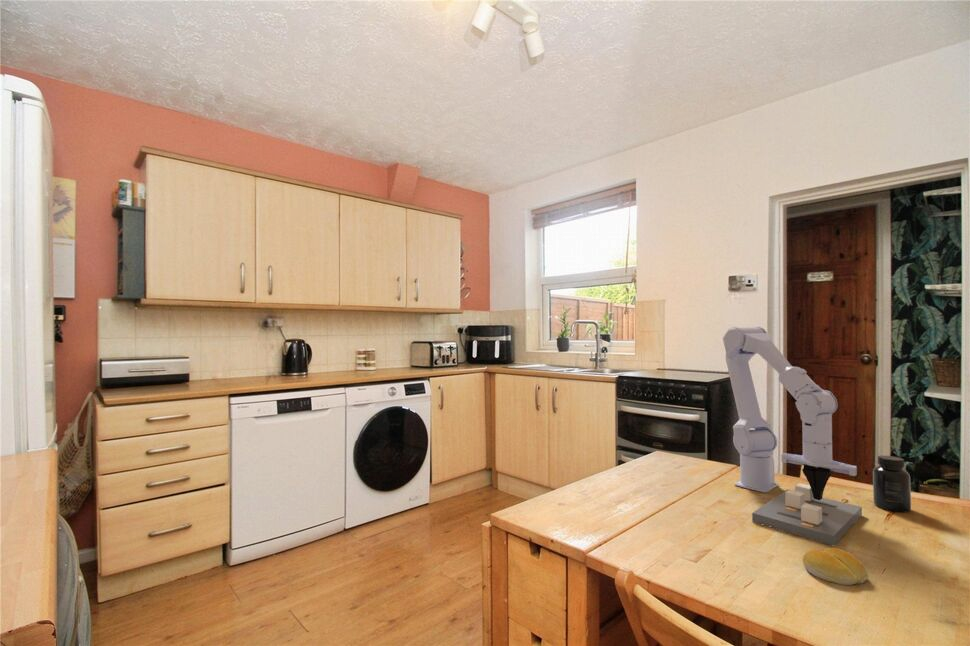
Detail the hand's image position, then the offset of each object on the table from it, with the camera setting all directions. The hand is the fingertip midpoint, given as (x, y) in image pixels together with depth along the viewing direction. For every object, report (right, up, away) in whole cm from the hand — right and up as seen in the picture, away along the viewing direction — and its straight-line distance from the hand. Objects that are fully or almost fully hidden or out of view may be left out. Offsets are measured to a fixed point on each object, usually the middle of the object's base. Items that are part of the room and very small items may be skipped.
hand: (817, 498), depth 108 cm
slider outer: (-9, -1, -11) cm, 14 cm away
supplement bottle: (+19, -3, +2) cm, 20 cm away
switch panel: (-6, -3, -4) cm, 8 cm away
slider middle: (-7, -1, -2) cm, 8 cm away
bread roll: (-17, -3, -27) cm, 32 cm away
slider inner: (-2, -1, +2) cm, 3 cm away
